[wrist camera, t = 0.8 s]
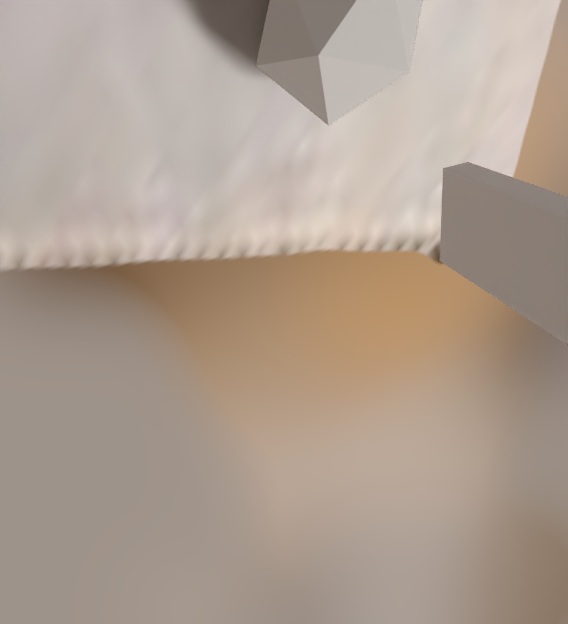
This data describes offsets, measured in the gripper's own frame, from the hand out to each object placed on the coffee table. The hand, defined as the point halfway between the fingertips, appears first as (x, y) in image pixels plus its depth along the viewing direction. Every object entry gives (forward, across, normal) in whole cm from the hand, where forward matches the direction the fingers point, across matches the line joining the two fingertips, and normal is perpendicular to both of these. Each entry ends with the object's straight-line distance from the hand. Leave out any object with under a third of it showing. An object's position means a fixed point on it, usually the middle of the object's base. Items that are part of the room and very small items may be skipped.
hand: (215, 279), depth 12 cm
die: (+22, +12, +4) cm, 25 cm away
